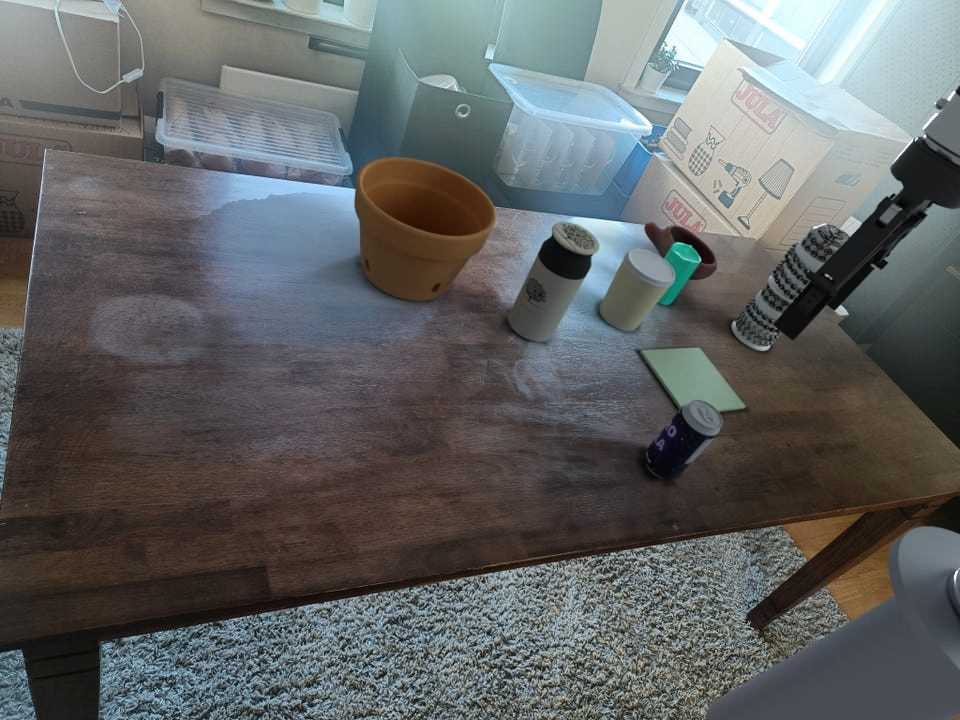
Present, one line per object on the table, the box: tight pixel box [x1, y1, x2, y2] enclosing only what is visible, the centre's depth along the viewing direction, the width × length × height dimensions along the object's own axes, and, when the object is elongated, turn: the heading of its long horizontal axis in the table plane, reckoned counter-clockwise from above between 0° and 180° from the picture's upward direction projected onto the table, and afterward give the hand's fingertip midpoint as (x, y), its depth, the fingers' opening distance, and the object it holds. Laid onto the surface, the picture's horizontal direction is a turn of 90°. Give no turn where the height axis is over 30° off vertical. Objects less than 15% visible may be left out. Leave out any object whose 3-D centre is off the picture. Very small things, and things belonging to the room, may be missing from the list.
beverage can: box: [643, 399, 723, 481], centre depth 86 cm, size 6×6×12 cm
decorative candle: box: [730, 223, 851, 352], centre depth 116 cm, size 9×9×25 cm
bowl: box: [644, 221, 718, 281], centre depth 130 cm, size 16×13×8 cm
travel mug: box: [507, 221, 601, 343], centre depth 97 cm, size 8×8×18 cm
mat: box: [639, 347, 746, 413], centre depth 107 cm, size 14×14×1 cm
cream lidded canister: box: [599, 248, 675, 332], centre depth 110 cm, size 9×9×12 cm
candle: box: [657, 242, 701, 306], centre depth 120 cm, size 6×6×12 cm
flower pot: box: [353, 156, 497, 302], centre depth 97 cm, size 21×21×15 cm
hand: (806, 316), depth 74 cm, fingers open, 13 cm apart
